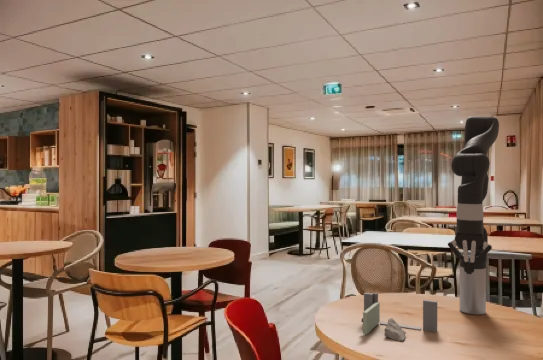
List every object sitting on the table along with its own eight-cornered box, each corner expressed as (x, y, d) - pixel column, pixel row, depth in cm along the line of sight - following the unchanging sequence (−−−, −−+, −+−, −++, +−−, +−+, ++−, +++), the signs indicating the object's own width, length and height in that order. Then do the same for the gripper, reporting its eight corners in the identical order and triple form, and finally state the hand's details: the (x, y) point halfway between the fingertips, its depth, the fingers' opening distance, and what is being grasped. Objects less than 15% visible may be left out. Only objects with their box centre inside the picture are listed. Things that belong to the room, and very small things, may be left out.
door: (379, 322, 149) (379, 302, 149) (366, 334, 137) (366, 312, 137) (372, 321, 150) (372, 301, 150) (359, 333, 138) (359, 311, 138)
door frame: (365, 319, 154) (365, 291, 154) (437, 329, 143) (437, 300, 143) (363, 321, 151) (363, 293, 151) (436, 332, 140) (436, 302, 140)
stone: (407, 331, 143) (407, 318, 143) (404, 342, 132) (404, 329, 132) (387, 328, 146) (387, 316, 146) (383, 340, 134) (383, 326, 134)
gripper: (445, 218, 131) (445, 273, 131) (493, 220, 125) (493, 278, 125) (447, 216, 137) (447, 269, 138) (493, 218, 131) (493, 273, 132)
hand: (469, 273), depth 131 cm, fingers closed
